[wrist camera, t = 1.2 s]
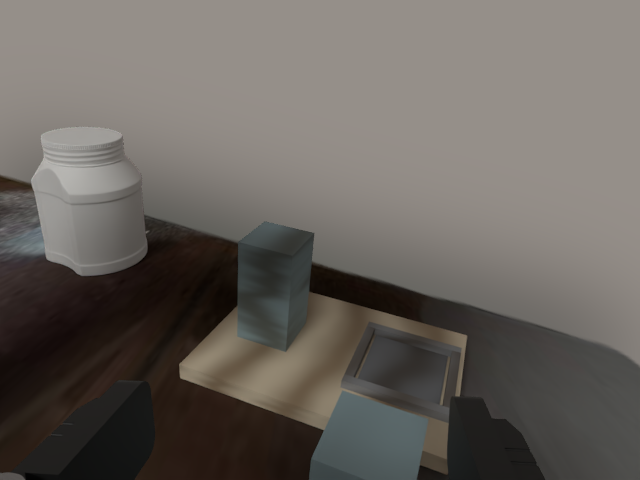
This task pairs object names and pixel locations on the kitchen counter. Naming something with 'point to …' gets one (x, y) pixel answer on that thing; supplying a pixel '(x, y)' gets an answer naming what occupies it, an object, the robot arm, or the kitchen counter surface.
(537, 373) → the kitchen counter surface
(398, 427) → the pillar
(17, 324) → the kitchen counter surface
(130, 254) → the jar
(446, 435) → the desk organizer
